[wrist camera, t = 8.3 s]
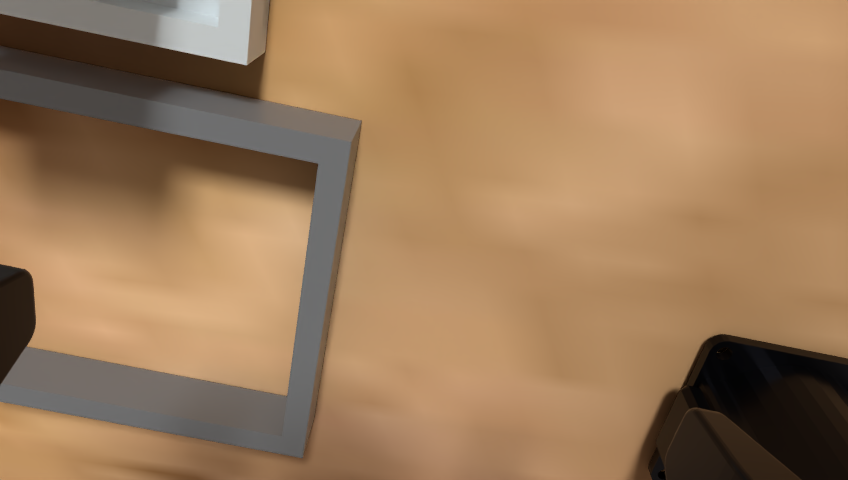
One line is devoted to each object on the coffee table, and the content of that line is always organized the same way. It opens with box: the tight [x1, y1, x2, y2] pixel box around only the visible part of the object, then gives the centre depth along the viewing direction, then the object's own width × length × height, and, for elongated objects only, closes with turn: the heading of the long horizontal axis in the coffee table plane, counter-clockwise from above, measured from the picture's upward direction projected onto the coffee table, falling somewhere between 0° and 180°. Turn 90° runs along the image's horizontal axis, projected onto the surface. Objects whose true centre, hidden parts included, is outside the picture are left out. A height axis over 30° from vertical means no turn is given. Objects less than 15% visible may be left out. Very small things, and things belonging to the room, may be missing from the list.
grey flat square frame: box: [0, 46, 362, 458], centre depth 21 cm, size 12×12×2 cm
